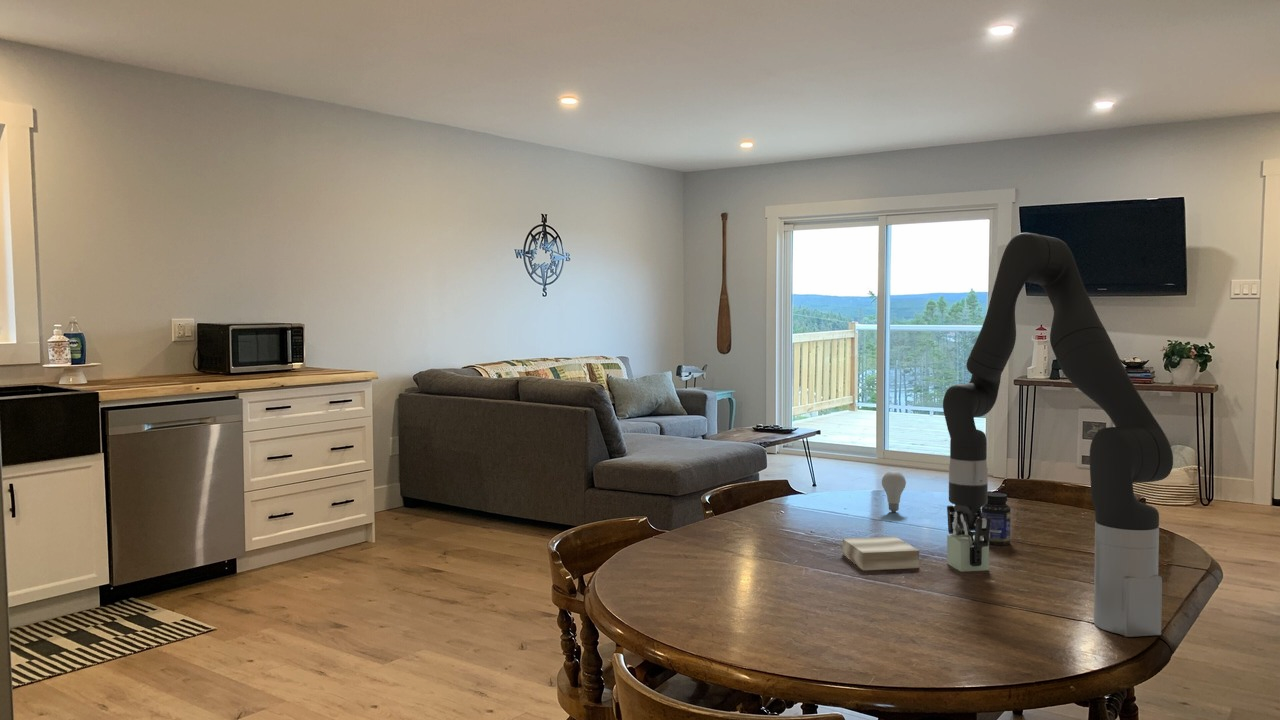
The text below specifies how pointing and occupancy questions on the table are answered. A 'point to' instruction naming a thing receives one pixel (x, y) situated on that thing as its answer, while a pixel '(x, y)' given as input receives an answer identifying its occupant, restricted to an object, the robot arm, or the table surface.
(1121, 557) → the robot arm
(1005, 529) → the pill bottle
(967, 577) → the table surface
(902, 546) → the birch block
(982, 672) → the table surface
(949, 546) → the sage block
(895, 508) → the lightbulb
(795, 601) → the table surface
